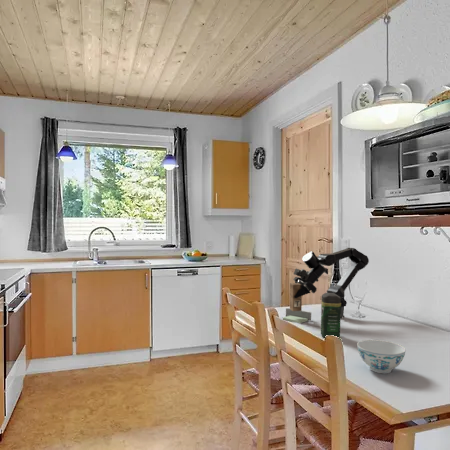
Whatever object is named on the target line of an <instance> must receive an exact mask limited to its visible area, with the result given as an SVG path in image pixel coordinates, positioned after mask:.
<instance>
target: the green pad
mask: <svg viewBox="0 0 450 450" xmlns="http://www.w3.org/2000/svg"><path fill="white" fill-rule="evenodd" d="M282 320H283V321H287V322H293V323H297V324H301V323H302V324H303V323H305V322H308V319H307V318H302V317H296V316H291V315H290V316H284V317H282Z"/></svg>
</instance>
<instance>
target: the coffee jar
mask: <svg viewBox="0 0 450 450" xmlns="http://www.w3.org/2000/svg"><path fill="white" fill-rule="evenodd" d="M320 305H321V311H320V313H321V314H320V335H321V337H322V338H324V337H325V336H326V335H334V336H337V337H340V338H341V319H342V318H341V298H340V297H339V296H338V295H336V294H335V293H327V292H325V293H323V294H322V295H321V304H320Z"/></svg>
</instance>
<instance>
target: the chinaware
mask: <svg viewBox="0 0 450 450" xmlns="http://www.w3.org/2000/svg"><path fill="white" fill-rule="evenodd" d="M356 346H357V351H358V353H359V357H360V358H361V359H362V361H363V362H364V363H365V364H366V365H367V366H369V370H371V371H372V372H374V373H379V374H390V373H392V370H394V369H395V368H397V367H399V365H400V364H401V363H402V362H403V360H404V358H405V355H406V351H407V350H406V348H405V346H402V345H400V344H398V343H396V342H391V341H386V340H381V339H380V340H379V339H378V340H377V339H367V340H366V339H365V340H361V341H358V342H357V343H356Z"/></svg>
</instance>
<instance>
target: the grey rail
mask: <svg viewBox="0 0 450 450" xmlns="http://www.w3.org/2000/svg"><path fill="white" fill-rule="evenodd" d="M290 315H291V316H296V317H302V318H307V319H308V321H310V322H311V321H312V312H311V311H305V310H302V311H292V310H290V307H289V308H288V307H287V308H285V317H287V316H290ZM308 321H307V322H308Z"/></svg>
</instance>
